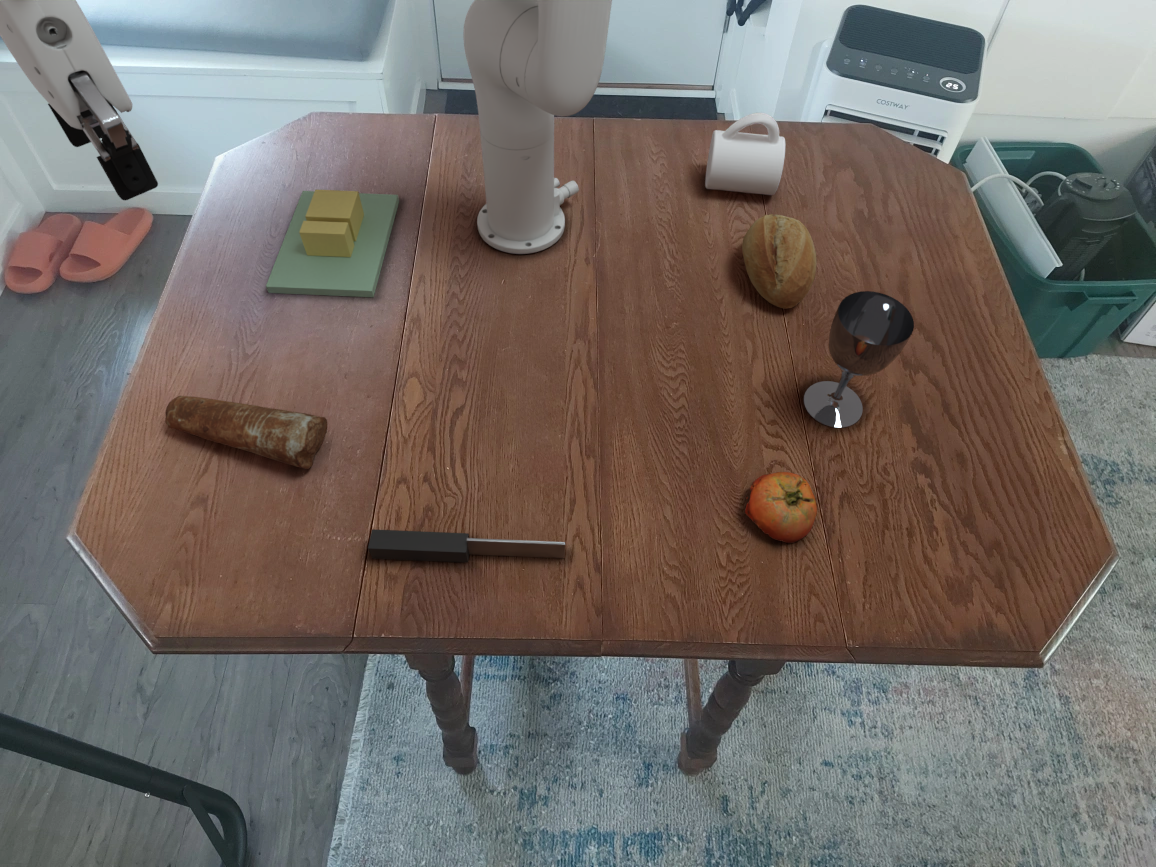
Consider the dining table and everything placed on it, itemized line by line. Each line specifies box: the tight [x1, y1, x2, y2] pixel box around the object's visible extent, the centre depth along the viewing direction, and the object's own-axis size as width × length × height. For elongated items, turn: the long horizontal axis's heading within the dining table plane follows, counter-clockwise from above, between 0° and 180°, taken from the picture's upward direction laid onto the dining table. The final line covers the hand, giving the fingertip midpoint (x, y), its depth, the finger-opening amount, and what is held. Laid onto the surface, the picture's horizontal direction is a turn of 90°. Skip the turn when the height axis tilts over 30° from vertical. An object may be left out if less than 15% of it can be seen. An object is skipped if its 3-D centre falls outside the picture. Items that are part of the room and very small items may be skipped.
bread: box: [164, 395, 328, 470], centre depth 85 cm, size 6×19×6 cm, turn 73°
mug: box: [704, 112, 787, 196], centre depth 111 cm, size 8×10×12 cm
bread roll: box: [741, 213, 817, 309], centre depth 101 cm, size 10×15×8 cm, turn 1°
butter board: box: [265, 189, 400, 298], centre depth 104 cm, size 20×14×5 cm
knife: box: [367, 529, 566, 563], centre depth 78 cm, size 20×2×3 cm, turn 88°
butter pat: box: [299, 221, 354, 257], centre depth 102 cm, size 2×6×4 cm, turn 88°
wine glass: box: [803, 290, 915, 429], centre depth 86 cm, size 8×8×15 cm
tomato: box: [744, 471, 818, 544], centre depth 82 cm, size 8×7×7 cm
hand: (114, 165), depth 65 cm, fingers open, 9 cm apart
